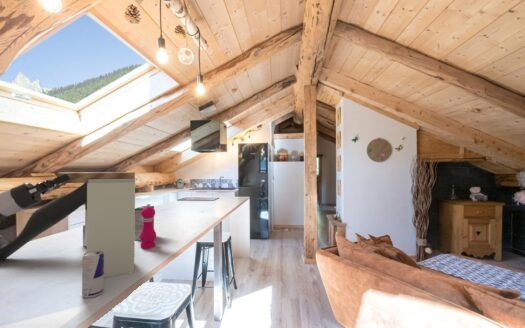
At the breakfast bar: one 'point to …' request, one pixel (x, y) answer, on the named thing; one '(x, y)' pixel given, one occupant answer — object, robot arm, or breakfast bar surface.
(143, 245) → the pepper mill
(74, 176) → the bar
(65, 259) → the breakfast bar surface
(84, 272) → the energy drink
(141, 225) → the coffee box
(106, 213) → the post
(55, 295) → the breakfast bar surface
